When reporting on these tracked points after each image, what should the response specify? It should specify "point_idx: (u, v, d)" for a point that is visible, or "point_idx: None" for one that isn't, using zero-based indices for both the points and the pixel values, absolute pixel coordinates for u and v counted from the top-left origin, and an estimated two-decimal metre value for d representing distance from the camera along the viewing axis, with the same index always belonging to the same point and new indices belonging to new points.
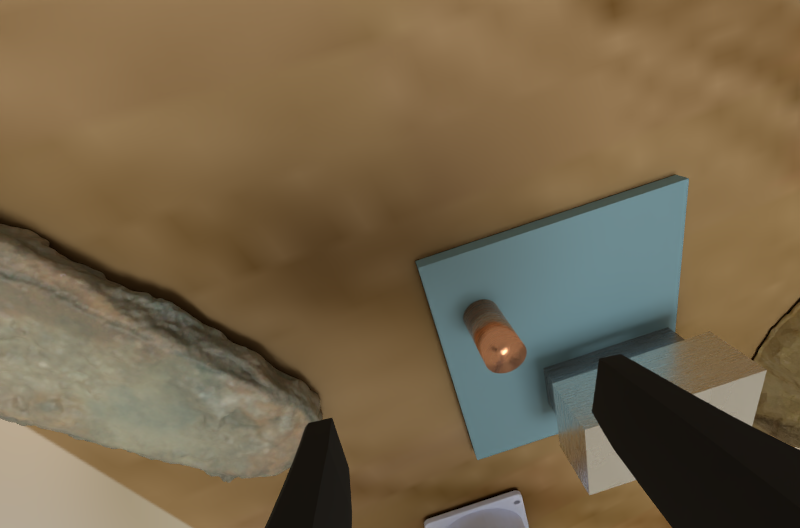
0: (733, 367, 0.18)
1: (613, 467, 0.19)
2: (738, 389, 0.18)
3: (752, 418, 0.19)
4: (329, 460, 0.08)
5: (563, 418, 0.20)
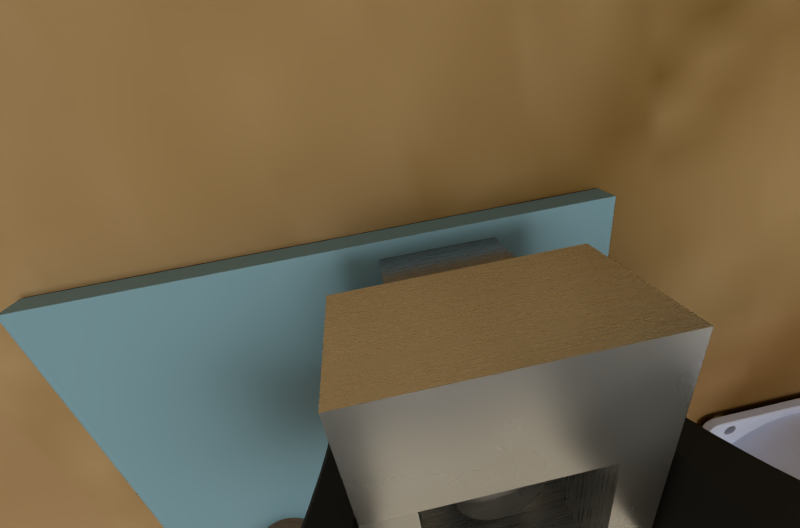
0: None
1: None
2: (389, 461, 0.05)
3: (577, 353, 0.05)
4: None
5: None
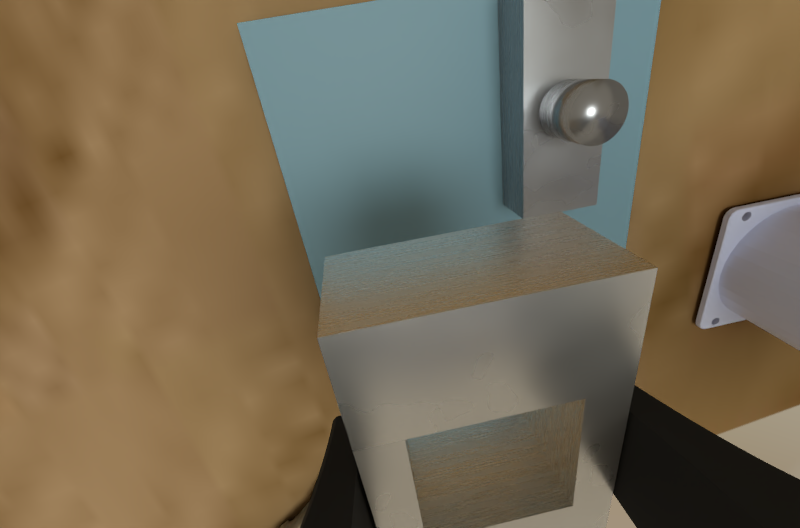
0: None
1: None
2: (379, 388, 0.06)
3: (540, 290, 0.06)
4: None
5: None
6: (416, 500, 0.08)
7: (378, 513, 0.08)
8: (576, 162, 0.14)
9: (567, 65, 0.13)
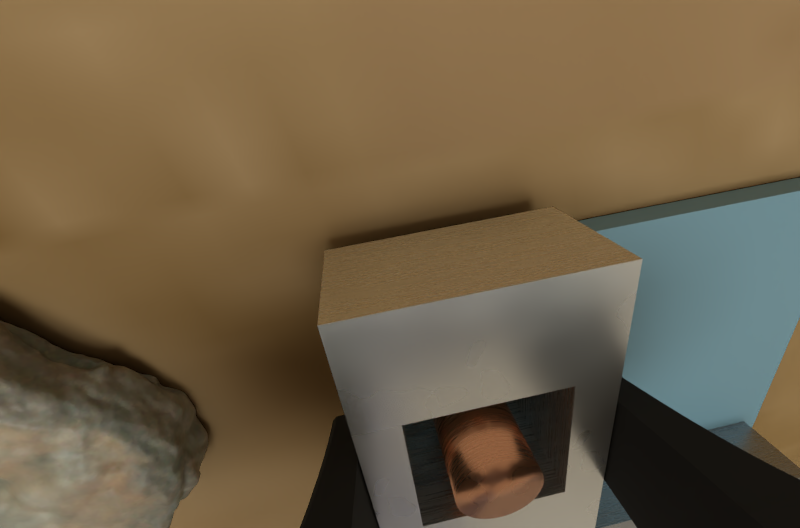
0: None
1: None
2: (376, 374, 0.07)
3: (529, 280, 0.06)
4: None
5: None
6: (413, 485, 0.08)
7: (376, 497, 0.08)
8: None
9: None
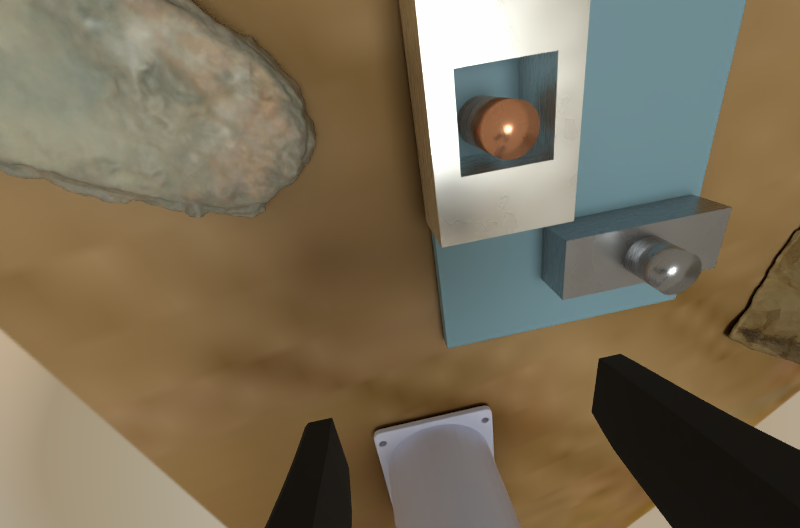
0: (412, 14, 0.12)
1: (532, 196, 0.14)
2: (441, 18, 0.11)
3: None
4: (329, 459, 0.08)
5: None
6: (457, 130, 0.13)
7: (433, 138, 0.13)
8: (602, 274, 0.18)
9: None
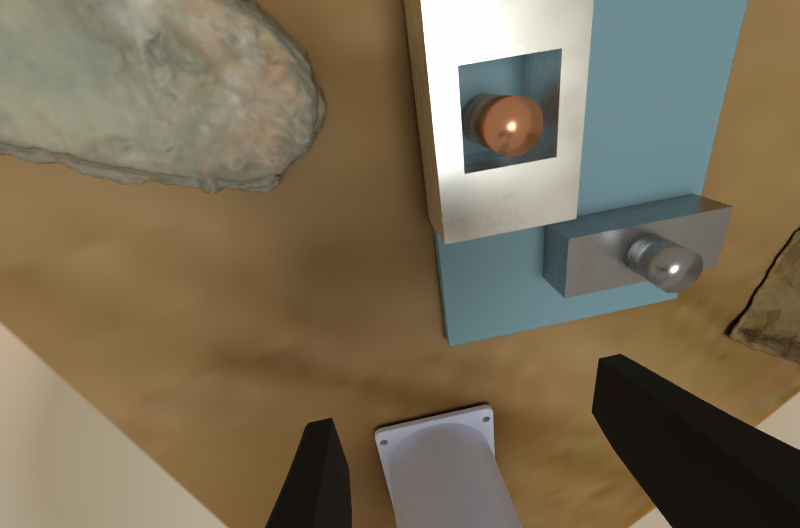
0: (418, 11, 0.12)
1: (535, 194, 0.14)
2: (446, 15, 0.11)
3: None
4: (329, 460, 0.08)
5: None
6: (460, 127, 0.13)
7: (438, 135, 0.13)
8: (604, 272, 0.18)
9: None
